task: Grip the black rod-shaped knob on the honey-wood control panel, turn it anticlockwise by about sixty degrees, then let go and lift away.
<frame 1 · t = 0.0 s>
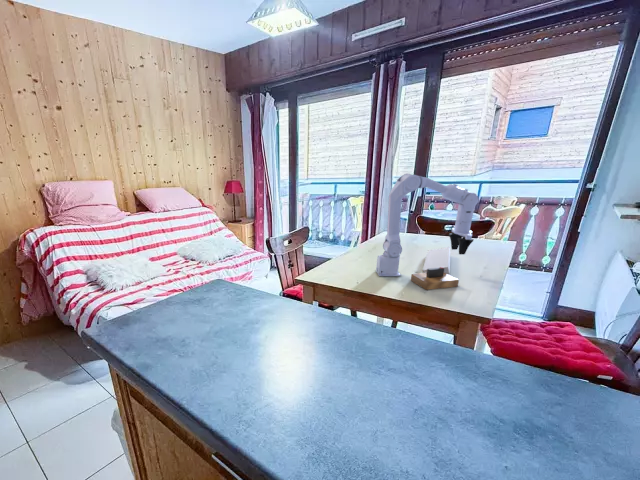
hand: (457, 251, 144), 10 cm above the table, tool pointing down, fingers open, 7 cm apart
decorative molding: (437, 265, 159), on the table
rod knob: (435, 272, 136), point 5 cm above the table, hinge at 0.0°
panel: (433, 283, 138), on the table
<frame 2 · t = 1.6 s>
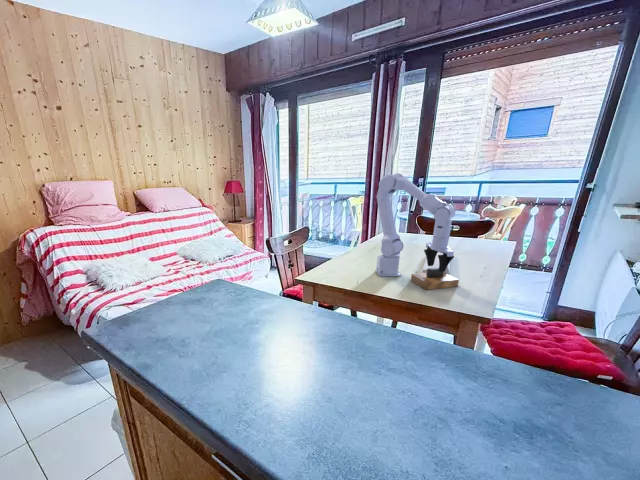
hand: (436, 268, 136), 7 cm above the table, tool pointing down, fingers open, 7 cm apart
nothing on the table moved.
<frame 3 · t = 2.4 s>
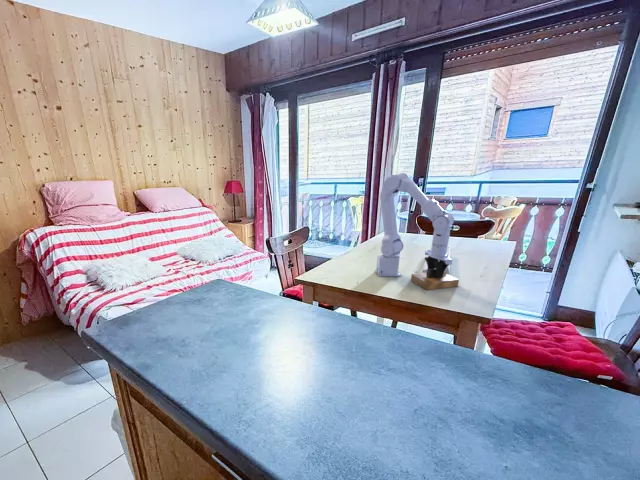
hand: (434, 275, 137), 4 cm above the table, tool pointing down, fingers open, 4 cm apart
nothing on the table moved.
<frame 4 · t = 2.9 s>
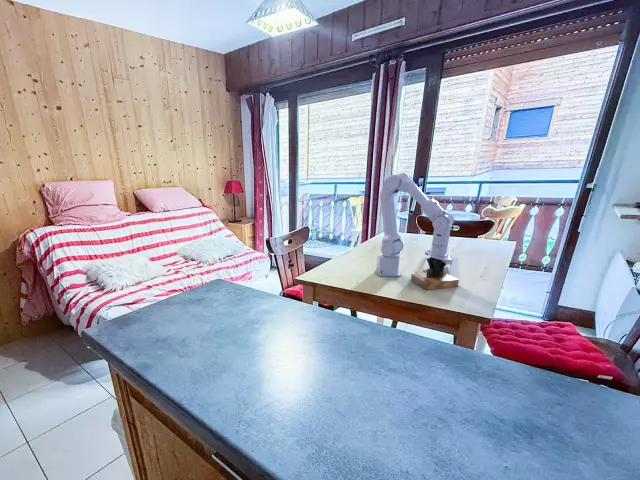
hand: (434, 275, 137), 4 cm above the table, tool pointing down, fingers closed on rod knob, 2 cm apart
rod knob: (435, 272, 136), point 5 cm above the table, hinge at 0.0°, touching gripper
everything else where it was.
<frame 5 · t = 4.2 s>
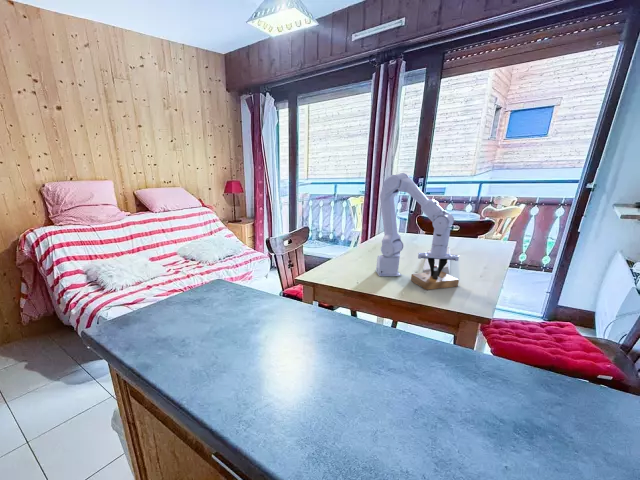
hand: (434, 275, 137), 4 cm above the table, tool pointing down, fingers closed on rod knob, 2 cm apart
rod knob: (435, 272, 136), point 5 cm above the table, hinge at 59.3°, touching gripper
everything else where it was.
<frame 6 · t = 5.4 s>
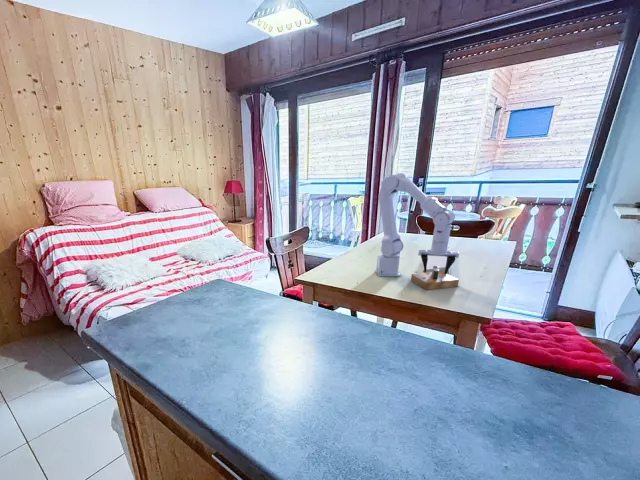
hand: (435, 272, 136), 5 cm above the table, tool pointing down, fingers open, 7 cm apart
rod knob: (435, 272, 136), point 5 cm above the table, hinge at 59.2°
everything else where it was.
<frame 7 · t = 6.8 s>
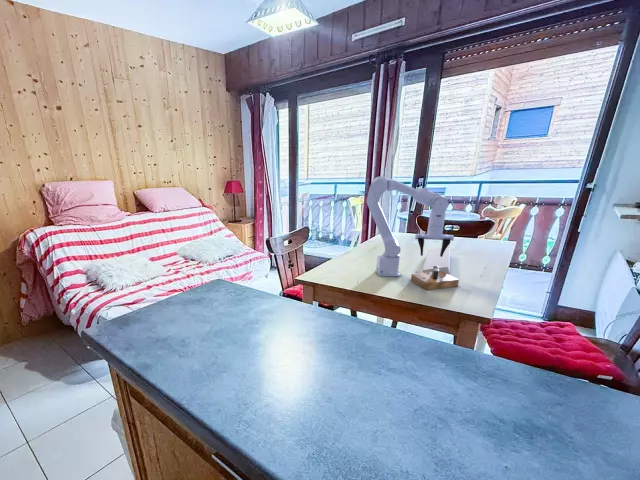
hand: (431, 255, 143), 9 cm above the table, tool pointing down, fingers open, 7 cm apart
nothing on the table moved.
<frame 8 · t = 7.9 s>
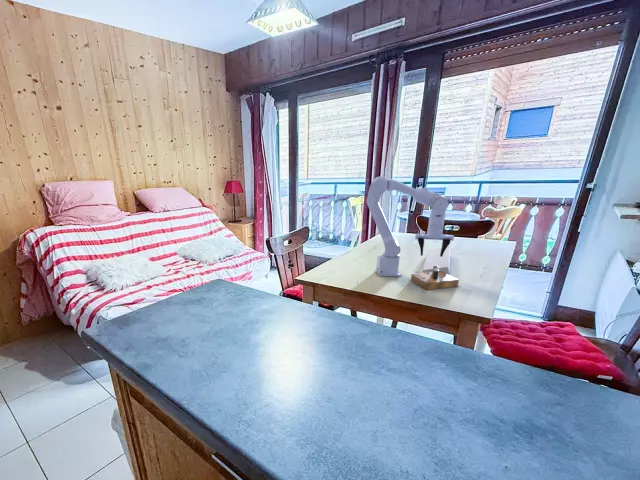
hand: (431, 255, 143), 9 cm above the table, tool pointing down, fingers open, 7 cm apart
nothing on the table moved.
at the end: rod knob at +59° (first picture: +0°) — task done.
